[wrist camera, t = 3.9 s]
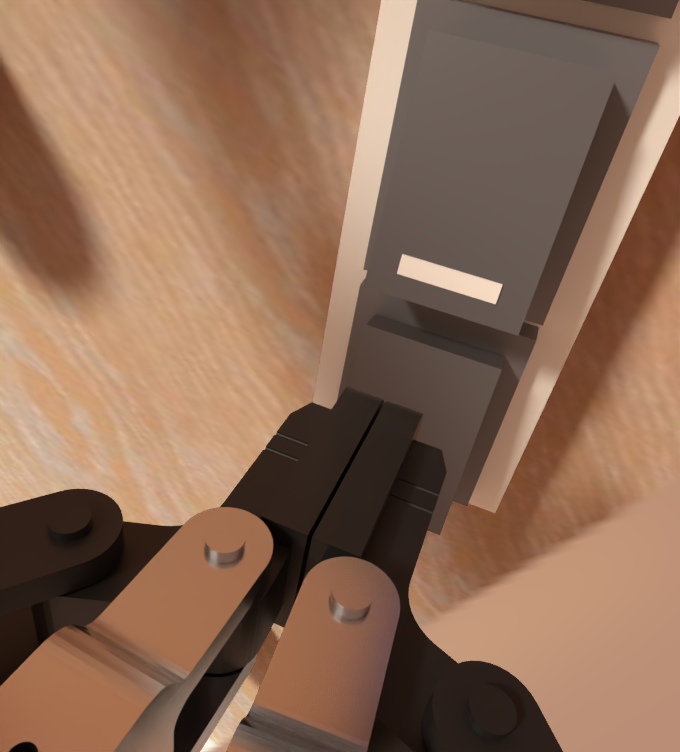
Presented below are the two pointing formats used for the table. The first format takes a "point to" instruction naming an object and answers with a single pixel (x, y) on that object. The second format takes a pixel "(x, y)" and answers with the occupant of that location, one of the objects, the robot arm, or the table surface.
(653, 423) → the table surface
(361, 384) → the rocker
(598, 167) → the power strip
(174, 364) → the table surface
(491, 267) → the plate
